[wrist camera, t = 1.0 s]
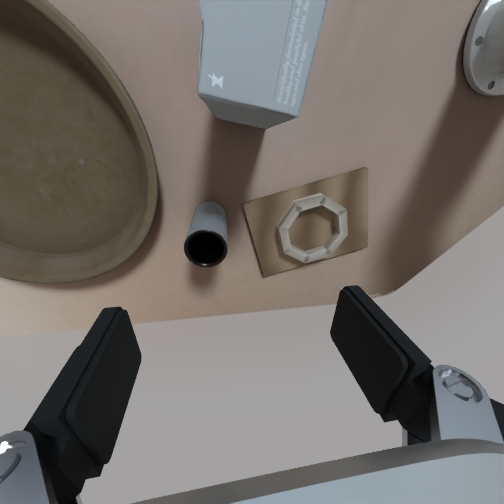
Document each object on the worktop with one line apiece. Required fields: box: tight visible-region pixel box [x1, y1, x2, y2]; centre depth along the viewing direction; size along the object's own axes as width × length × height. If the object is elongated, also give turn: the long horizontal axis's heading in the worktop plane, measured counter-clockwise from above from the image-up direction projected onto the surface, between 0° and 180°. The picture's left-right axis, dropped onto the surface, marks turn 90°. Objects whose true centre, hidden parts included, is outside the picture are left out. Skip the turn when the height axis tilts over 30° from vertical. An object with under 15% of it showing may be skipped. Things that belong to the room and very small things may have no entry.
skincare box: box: [197, 0, 328, 129], centre depth 18 cm, size 8×7×16 cm
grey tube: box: [184, 201, 228, 267], centre depth 28 cm, size 4×4×10 cm
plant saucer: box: [0, 0, 158, 283], centre depth 25 cm, size 31×31×5 cm
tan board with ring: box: [243, 167, 368, 277], centre depth 34 cm, size 18×13×2 cm
